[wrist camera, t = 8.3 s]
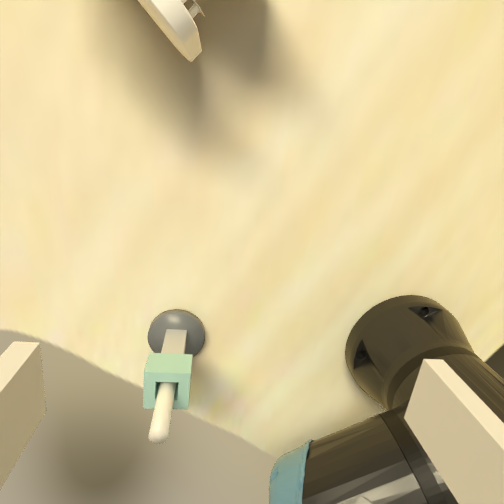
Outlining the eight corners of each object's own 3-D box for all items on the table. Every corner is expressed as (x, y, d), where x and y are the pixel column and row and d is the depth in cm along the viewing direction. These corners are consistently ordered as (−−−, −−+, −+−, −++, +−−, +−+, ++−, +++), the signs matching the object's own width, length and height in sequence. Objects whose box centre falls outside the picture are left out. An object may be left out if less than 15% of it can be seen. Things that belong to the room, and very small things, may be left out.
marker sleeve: (192, 354, 37) (190, 373, 34) (189, 388, 39) (188, 409, 36) (149, 352, 36) (143, 371, 34) (148, 387, 38) (143, 408, 35)
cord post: (206, 311, 43) (202, 405, 29) (202, 357, 46) (196, 466, 31) (149, 307, 43) (116, 403, 28) (148, 355, 45) (116, 466, 30)
